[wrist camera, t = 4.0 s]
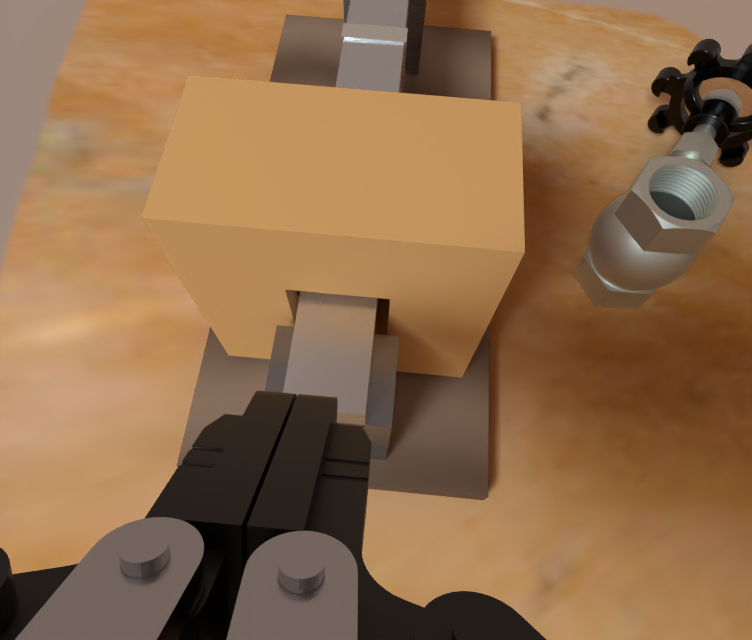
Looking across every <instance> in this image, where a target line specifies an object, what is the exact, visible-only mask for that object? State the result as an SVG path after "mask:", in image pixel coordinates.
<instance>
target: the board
mask: <svg viewBox="0 0 752 640" xmlns="http://www.w3.org/2000/svg"><path fill="white" fill-rule="evenodd" d="M343 23H344V19H333V18H321V17H308V16H296V15H286V17H285V22H284V26H283V30H282V34H281V38H280V42H279V46H278V50H277V55H276V59H275V63H274V67H273V71H272V75H271V79H270V82H276V83H288V84H300V85H312V86H325V87H336V81H337V75H338V69H339V63H340V58H341V52H342V45H341V34H342V29H343ZM402 93H409V94H421V95H433V96H445V97H457V98H469V99H482V100H491V31H484V30H471V29H458V28H446V27H433V26H423V35H422V45H421V54H420V63H419V73H418V75H415V74H404V82H403V92H402ZM269 364H270V359H261V358H251V357H240V356H229V355H228V354H227V352H226V350H225V349H224V347H223V346H222V344H221V343H220V341H219V339H218V338H217V336H216V335H215V333H214V332H213V330H212V329H211V327H210V331H209V335H208V339H207V343H206V347H205V351H204V356H203V360H202V364H201V368H200V372H199V376H198V380H197V384H196V389H195V393H194V397H193V401H192V405H191V409H190V413H189V417H188V422H187V426H186V430H185V434H184V438H183V442H182V446H181V450H180V455H179V459H178V463H177V466H178V467H179V465H182V461H183V459H184V457H185V456H186V454H187V453H188V451H189V450H191V449H192V445H193V444H194V442H195V441H196V439H197V438H198V436H199V434H200V433H201V431H202V430H203V428H204V427H206V426H207V425H209V424H210V423H212V422H213V421H215V420H217V419H218V418H220V417H221V416H223V415H224V414H231V415H243V414H244V412H245V410H246V408H247V406H248V405H249V403H250V401H251V399H252V397H253V395H254V394H255V392H256V391H258V390H259V391H265V386H266V380H267V375H268V370H269ZM488 441H489V325H488V327H487V329H486V331H485V333H484V335H483V337H482V339H481V341H480V343H479V345H478V347H477V349H476V351H475V353H474V354H473V356H472V358H471V360H470V362H469V364H468V366H467V368H466V370H465V372H464V374H463V376H462V377H452V376H441V375H430V374H420V373H409V372H399V371H396V381H395V393H394V405H393V418H392V429H391V434H390V439H389V445H388V450H387V456H386V460H380V459H370V471H369V482H368V489H377V490H387V491H398V492H408V493H418V494H428V495H438V496H448V497H458V498H468V499H478V500H484V499H486V498H487V497H488Z"/></svg>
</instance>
